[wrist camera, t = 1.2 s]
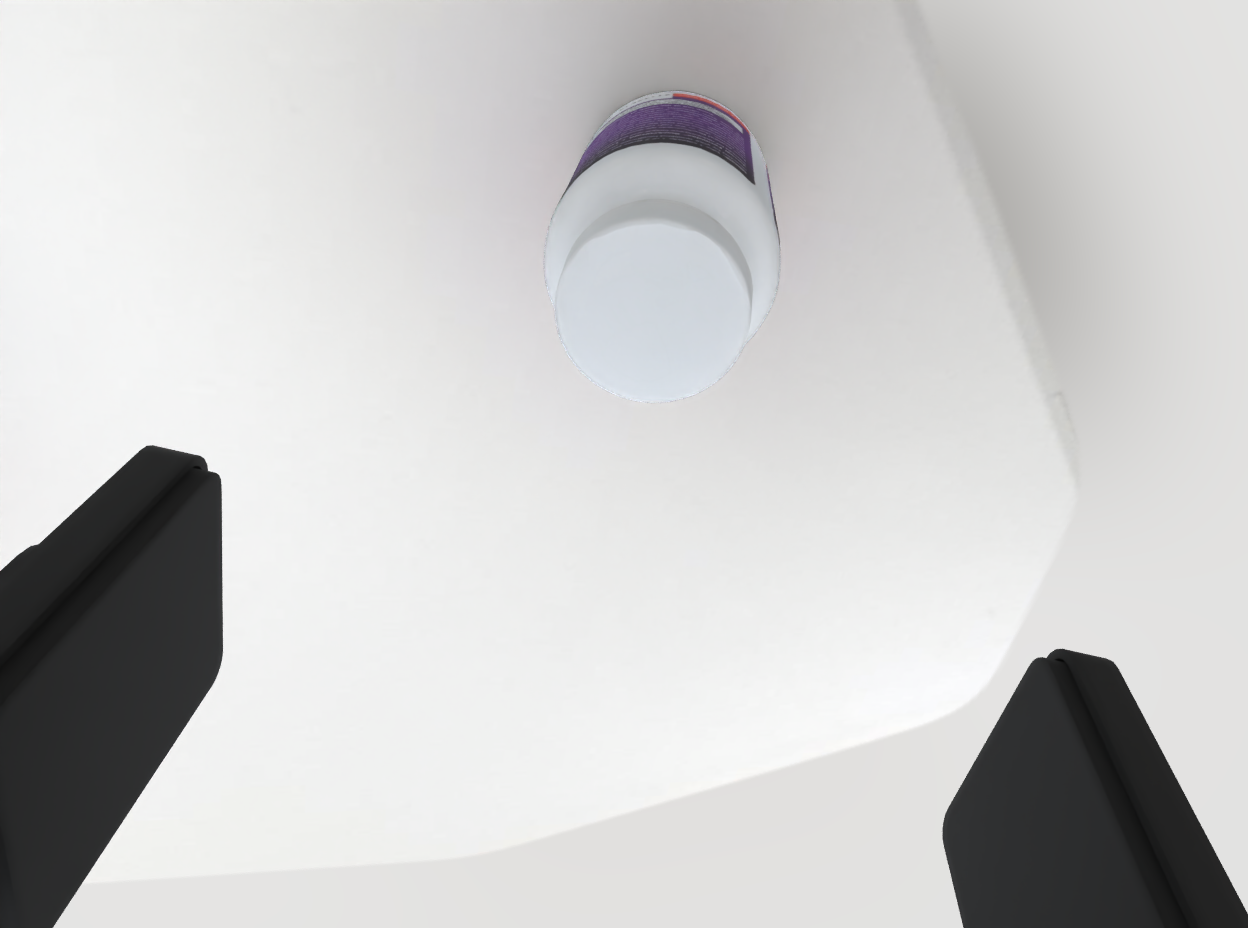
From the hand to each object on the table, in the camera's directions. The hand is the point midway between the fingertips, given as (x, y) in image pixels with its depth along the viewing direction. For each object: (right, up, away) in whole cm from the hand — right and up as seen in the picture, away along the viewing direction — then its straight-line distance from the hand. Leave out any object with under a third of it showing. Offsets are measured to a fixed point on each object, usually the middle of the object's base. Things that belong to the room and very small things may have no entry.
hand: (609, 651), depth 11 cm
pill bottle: (+2, +10, +17) cm, 20 cm away
